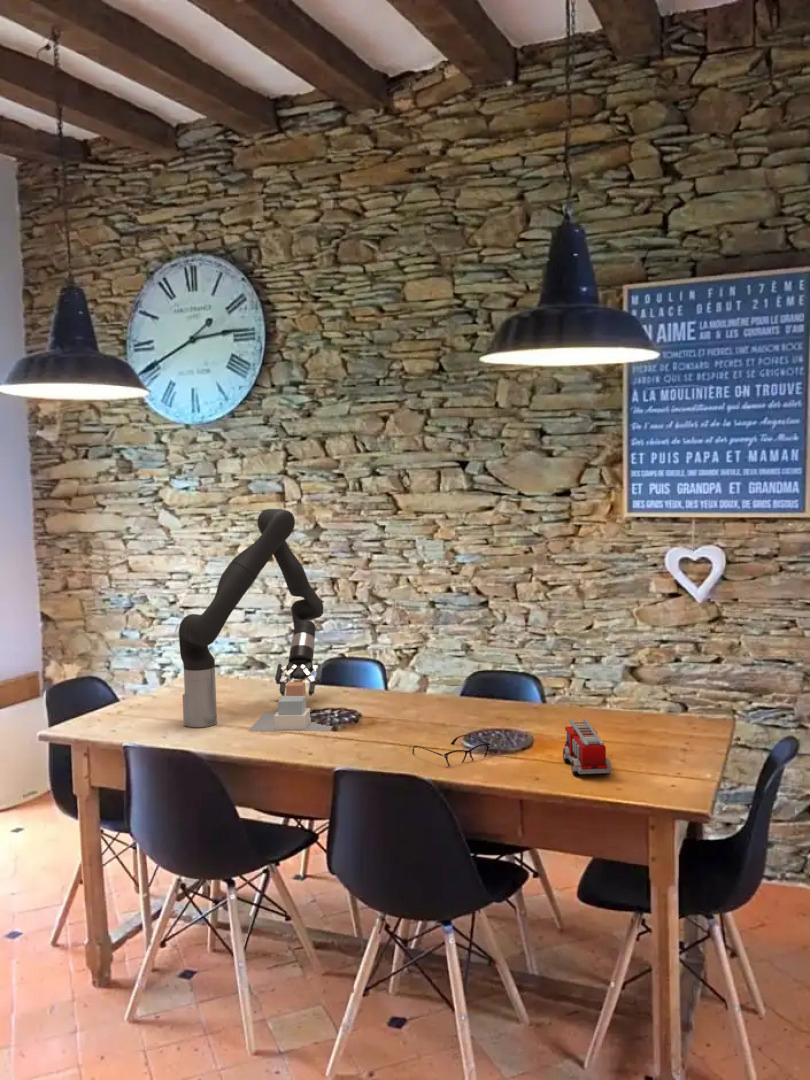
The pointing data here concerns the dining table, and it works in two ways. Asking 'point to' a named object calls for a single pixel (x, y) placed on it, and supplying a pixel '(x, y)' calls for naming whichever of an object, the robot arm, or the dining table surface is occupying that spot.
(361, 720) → the dining table surface
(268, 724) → the baseplate
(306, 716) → the tower base
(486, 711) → the dining table surface
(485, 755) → the eyeglasses
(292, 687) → the terracotta brick
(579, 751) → the toy fire truck
